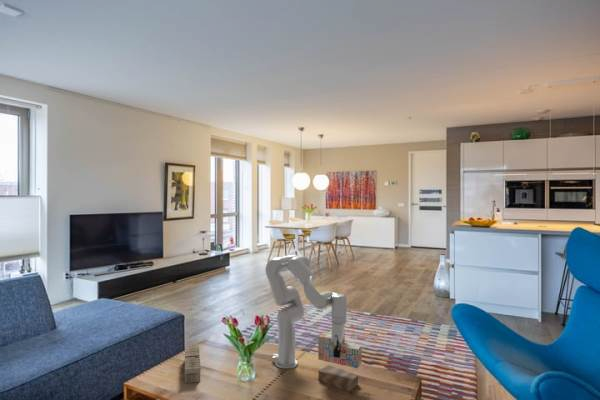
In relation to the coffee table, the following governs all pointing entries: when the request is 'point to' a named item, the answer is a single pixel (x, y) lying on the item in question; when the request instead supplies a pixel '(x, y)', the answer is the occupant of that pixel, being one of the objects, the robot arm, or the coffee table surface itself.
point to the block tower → (192, 364)
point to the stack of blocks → (348, 351)
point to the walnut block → (338, 377)
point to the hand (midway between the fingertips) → (338, 353)
